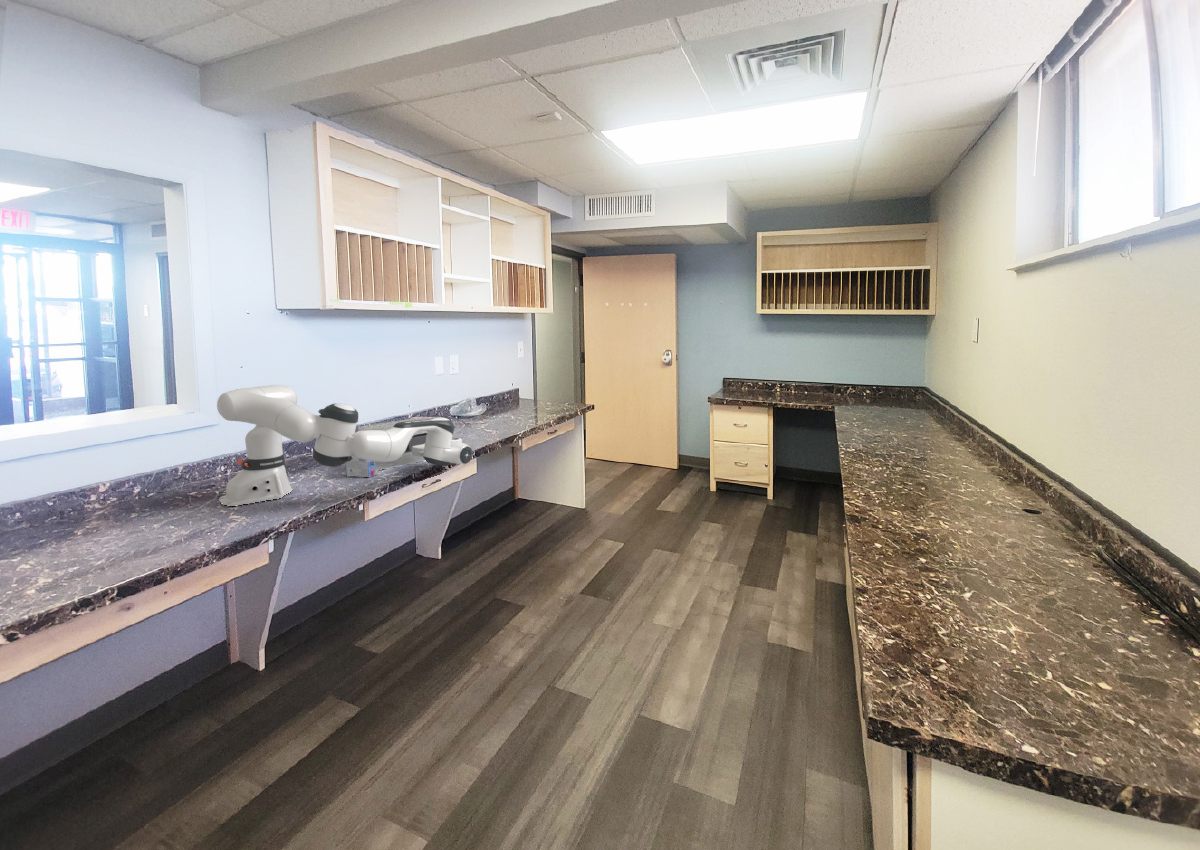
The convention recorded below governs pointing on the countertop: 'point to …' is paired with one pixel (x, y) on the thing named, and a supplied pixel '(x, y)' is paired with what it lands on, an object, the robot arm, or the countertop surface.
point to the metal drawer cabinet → (407, 455)
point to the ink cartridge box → (360, 467)
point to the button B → (416, 441)
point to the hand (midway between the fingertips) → (426, 444)
